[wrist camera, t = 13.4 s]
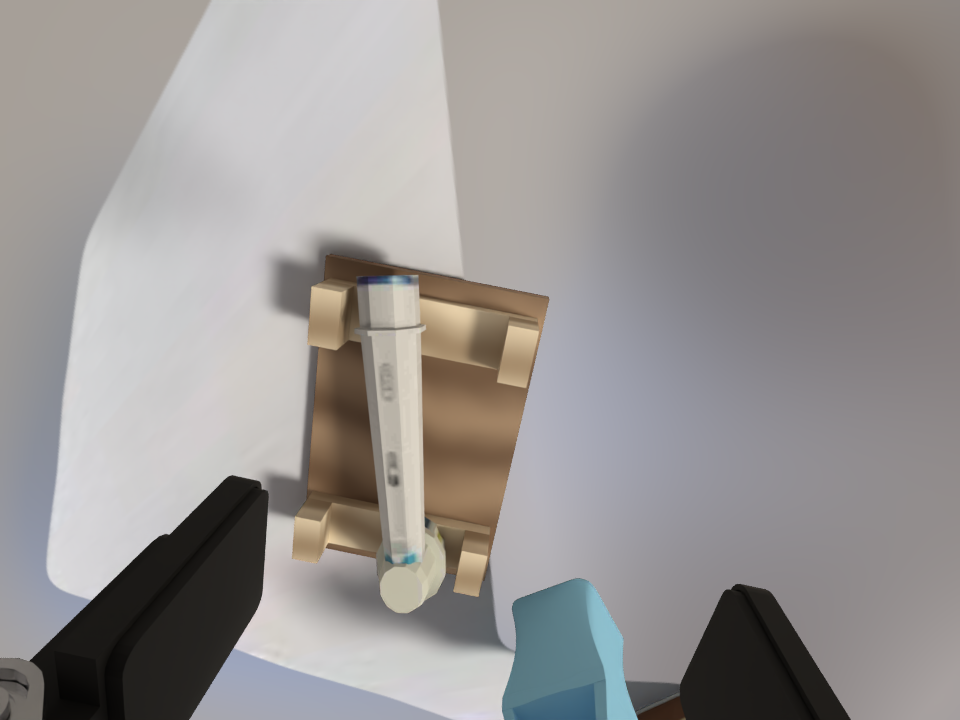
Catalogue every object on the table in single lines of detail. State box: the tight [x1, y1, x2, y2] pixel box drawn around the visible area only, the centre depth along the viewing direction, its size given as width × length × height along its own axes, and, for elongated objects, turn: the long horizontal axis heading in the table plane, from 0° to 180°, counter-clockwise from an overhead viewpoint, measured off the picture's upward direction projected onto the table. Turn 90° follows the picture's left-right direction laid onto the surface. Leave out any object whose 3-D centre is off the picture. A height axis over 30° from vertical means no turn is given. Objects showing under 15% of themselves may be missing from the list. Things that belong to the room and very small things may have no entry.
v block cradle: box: [292, 254, 549, 597], centre depth 38 cm, size 25×16×4 cm, turn 170°
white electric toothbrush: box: [354, 275, 446, 613], centre depth 36 cm, size 5×7×25 cm
